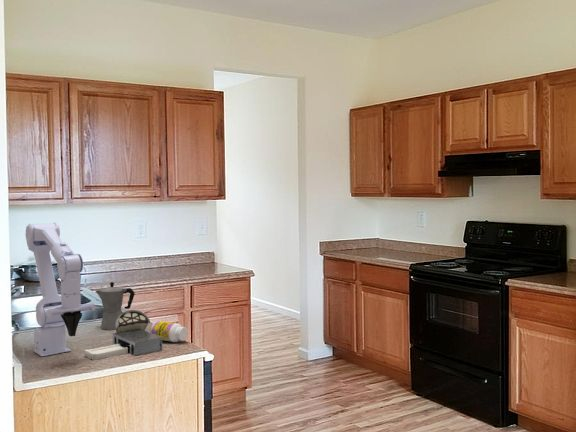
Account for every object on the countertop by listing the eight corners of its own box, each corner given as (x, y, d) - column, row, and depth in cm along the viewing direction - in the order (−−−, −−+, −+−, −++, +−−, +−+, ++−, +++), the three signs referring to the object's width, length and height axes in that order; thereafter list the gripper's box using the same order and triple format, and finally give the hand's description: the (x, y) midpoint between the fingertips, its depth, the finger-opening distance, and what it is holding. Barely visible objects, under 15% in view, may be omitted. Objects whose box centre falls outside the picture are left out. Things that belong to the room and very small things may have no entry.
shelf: (135, 355, 188) (134, 342, 188) (113, 345, 200) (113, 333, 199) (162, 349, 194) (162, 337, 194) (139, 340, 206) (139, 328, 206)
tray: (93, 360, 183) (92, 354, 183) (84, 356, 188) (84, 350, 188) (127, 353, 191) (127, 347, 191) (119, 348, 196) (118, 343, 196)
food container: (140, 323, 215) (146, 306, 209) (145, 336, 211) (151, 319, 205) (107, 328, 208) (112, 311, 202) (111, 342, 204) (117, 324, 199)
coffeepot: (92, 330, 221) (91, 284, 220) (99, 324, 231) (99, 280, 230) (131, 330, 221) (131, 284, 220) (138, 324, 231) (137, 280, 230)
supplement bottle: (154, 317, 208) (182, 321, 202) (164, 325, 213) (192, 328, 207) (147, 334, 204) (175, 338, 198) (157, 342, 209) (185, 346, 203)
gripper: (52, 297, 173) (53, 342, 174) (98, 291, 183) (99, 333, 183) (43, 294, 178) (45, 337, 179) (89, 289, 188) (90, 329, 189)
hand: (71, 335), depth 181 cm, fingers closed
